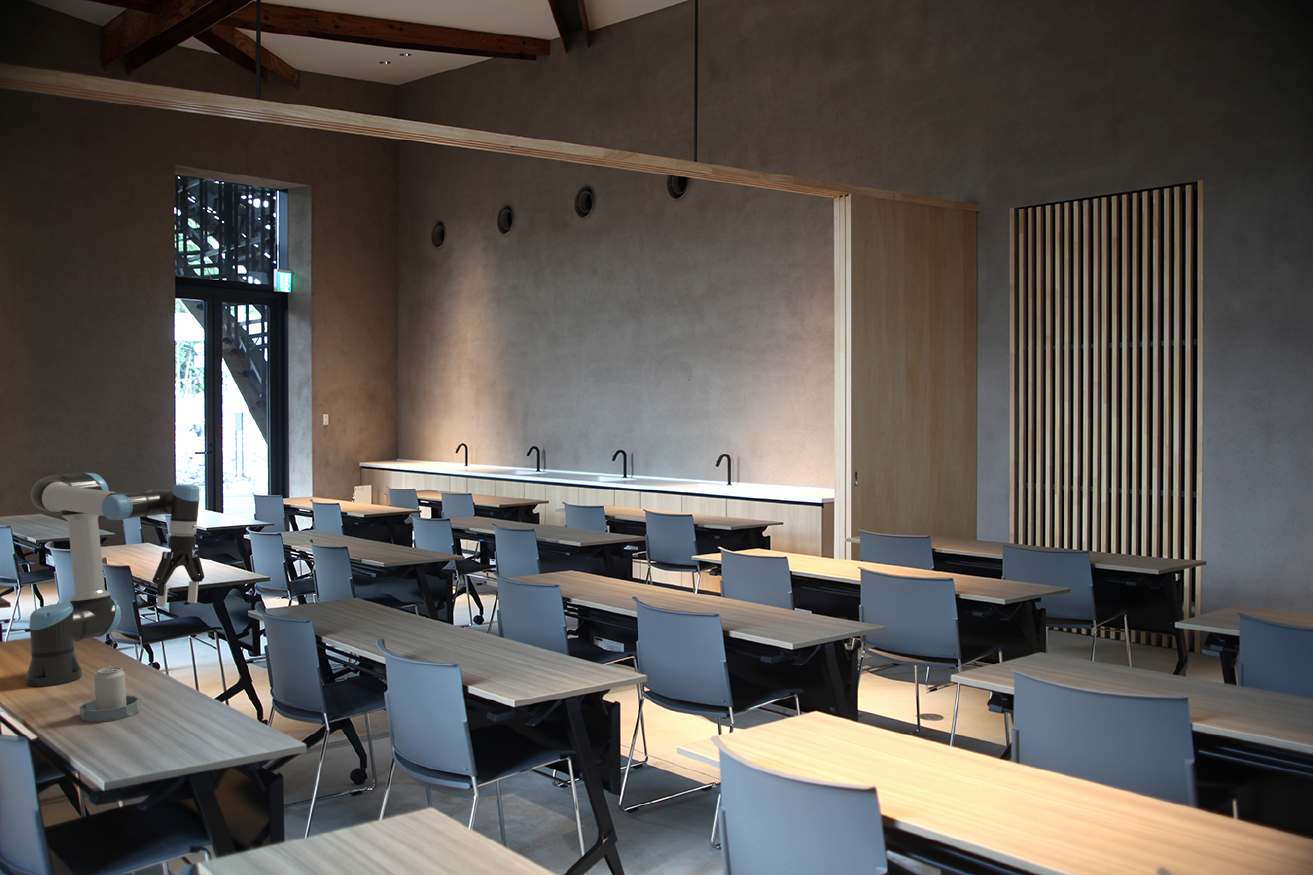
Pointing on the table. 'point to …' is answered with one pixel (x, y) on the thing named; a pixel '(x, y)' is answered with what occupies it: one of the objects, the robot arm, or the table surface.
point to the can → (110, 688)
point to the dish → (110, 710)
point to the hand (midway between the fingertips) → (177, 604)
